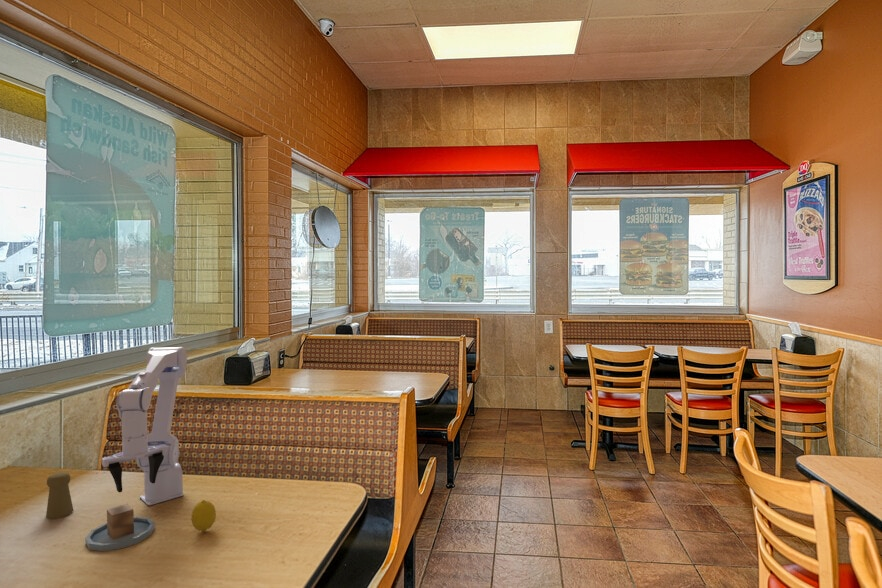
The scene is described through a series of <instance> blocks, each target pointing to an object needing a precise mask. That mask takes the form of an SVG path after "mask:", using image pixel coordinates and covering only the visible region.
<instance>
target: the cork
mask: <svg viewBox="0 0 882 588" xmlns="http://www.w3.org/2000/svg"><path fill="white" fill-rule="evenodd" d="M46 479H47V480H46V485H47V487H48V489H49V490H48V496H47V497H48V498H47V505H46V515H45V518H46V519H48V520H49V519H52V520H55V519H59V518H60V517H61V518H64V517H66V515H67V516H69V515H70V513H71V512H72V511H73V512H74V507H73V501H72V496H71V491H70V486H69V484H70V482H71V474H70V473H69V472H66V471H59V472H56V473H52V474H50V475H49V476H48V477H47V478H46ZM73 512H72V513H73ZM72 513H71V514H72ZM68 514H69V515H68ZM63 516H64V517H63Z"/></svg>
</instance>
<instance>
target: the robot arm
mask: <svg viewBox="0 0 882 588" xmlns="http://www.w3.org/2000/svg"><path fill="white" fill-rule="evenodd" d="M187 353H188V352H187V350H186V348H185V347H184V346H177V347H175V346H174V347H150V348H149V349H148V350H147V353H146V367H145V369H144V371H140V372H139V373H138V374H137V375H136V376H135V377H134V379H133V380H132V381H131V383H130V384H129V386H128V387H127V389H123V390H122V391H119V393H118V395H117V398H116V403H115V404H116V409H117V412H118V418H119V419H120V420H121V441H122V442H121V444H122V445H121V446H122V449H121V451H122V452H118V453H115V454H111V455H109V456H104V457H102V458H101V466H102V467H103V468H107V469H108V471H109V472H110V475H111V476H112V478H113V481H114V483H115V487H116V491H117V492H118V493H122V492H123V479H122V478H123V467H122V466H121V464H122V463H125V462H129V461H130V462H131V461H134V460H136V466H138V467H139V468H140V469H141V471H142V472H143V474H144V475H143V477H144V479H143V480H144V494H142V495H139V498H140V499H141V500H142V501H143V502H144V503H145V504H146V505H148V506H152V505H156V504H160V503H163V502H166V501H169V500H173V499H176V498H180V497H182V496H184V495H185V494H184V490H183V489H184V486H183V484H184V483H183V470H182V466H181V464H180V463H179V462H178V460H179V456H180V449H179V448H180V447H179V445H180V444H179V443H180V441H179V439H178V438H177V436H175V435H173V434H172V433H171V430H172V429H171V428H172V421H173V416H174V409H175V402H176V398H177V397H176V396H177V389H178V384H179V380H180V378H182V377H183V376H185V372H186V370H187V369H186V368H187V363H188V355H187ZM158 384H159V385H158ZM157 386H158V393H157V398H156V403H155V404H156V405H155V411H154V416H153V417H154V418H153V422H152V429H151V432H150V433H148V409H149V408H150V407H151V406H150V405H151V402H152V398H153V395H152V394H153V392H154V390H155V389H156V388H157Z"/></svg>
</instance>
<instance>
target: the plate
mask: <svg viewBox="0 0 882 588" xmlns="http://www.w3.org/2000/svg"><path fill="white" fill-rule="evenodd" d="M154 530H155V522H154V521H153V520H152V518H150V517H145V516H144V517H143V516H134V533H132V534H129V535H126V536H123V537H120V538H117V539H114V540H112V538H111V537H110V536H109V535H108V533H107V522H104V523H103V524H101V525H99V526H97V527H95V528H94V529H92V530H90V532H89V533H88V534H87V535H86V537H85V540H84V541H85V543H84V544H85V545H86V544H87V545H86V546H88V547H87V548H88V550H90V549H91V550H92V551H98V552H107V550H108V551H114V550H115V549H116V550H121V548H122V549H124V547H125V548H128V547H130V546H134V545H137V544H139V543H141V542H142V541H144V540H145V539H147V538H149V537H150V536H151V535H152V534H153V532H154ZM113 549H114V550H113Z"/></svg>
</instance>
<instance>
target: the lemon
mask: <svg viewBox="0 0 882 588" xmlns="http://www.w3.org/2000/svg"><path fill="white" fill-rule="evenodd" d="M216 515H217V512H216V508H215V505H214V504H213V503H212V502H211V501H210V500H209V501H208V500H205V499H202V500H201V501H199V502H198V503H197V504H196V505H195V506H194V507H193V509H192V511H191V518H190V519H191V523H192V526H193V528H194V529H195V530H198V531H201V532H202V533H204V532H205V533H206V531H207V530H208V529H210V528H211V527H212V526H213V525H214V523H215V522H216Z"/></svg>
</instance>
